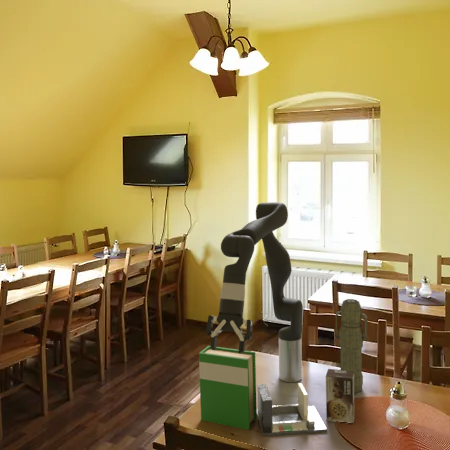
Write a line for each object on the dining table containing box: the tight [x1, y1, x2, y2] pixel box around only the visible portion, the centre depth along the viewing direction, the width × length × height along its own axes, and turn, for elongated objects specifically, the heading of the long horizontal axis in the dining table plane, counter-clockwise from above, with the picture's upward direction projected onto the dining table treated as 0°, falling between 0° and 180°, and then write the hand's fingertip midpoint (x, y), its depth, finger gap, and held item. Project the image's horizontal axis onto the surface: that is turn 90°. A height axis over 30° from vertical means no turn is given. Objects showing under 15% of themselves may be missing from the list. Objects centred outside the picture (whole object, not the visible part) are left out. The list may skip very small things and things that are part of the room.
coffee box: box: [325, 368, 355, 424], centre depth 164 cm, size 9×6×16 cm
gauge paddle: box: [297, 382, 309, 426], centre depth 162 cm, size 12×1×10 cm, turn 4°
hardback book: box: [198, 345, 258, 430], centre depth 165 cm, size 18×7×24 cm, turn 67°
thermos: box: [334, 298, 368, 395], centre depth 185 cm, size 9×12×35 cm
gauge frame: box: [256, 383, 328, 437], centre depth 163 cm, size 16×21×11 cm
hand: (226, 351), depth 147 cm, fingers open, 8 cm apart
